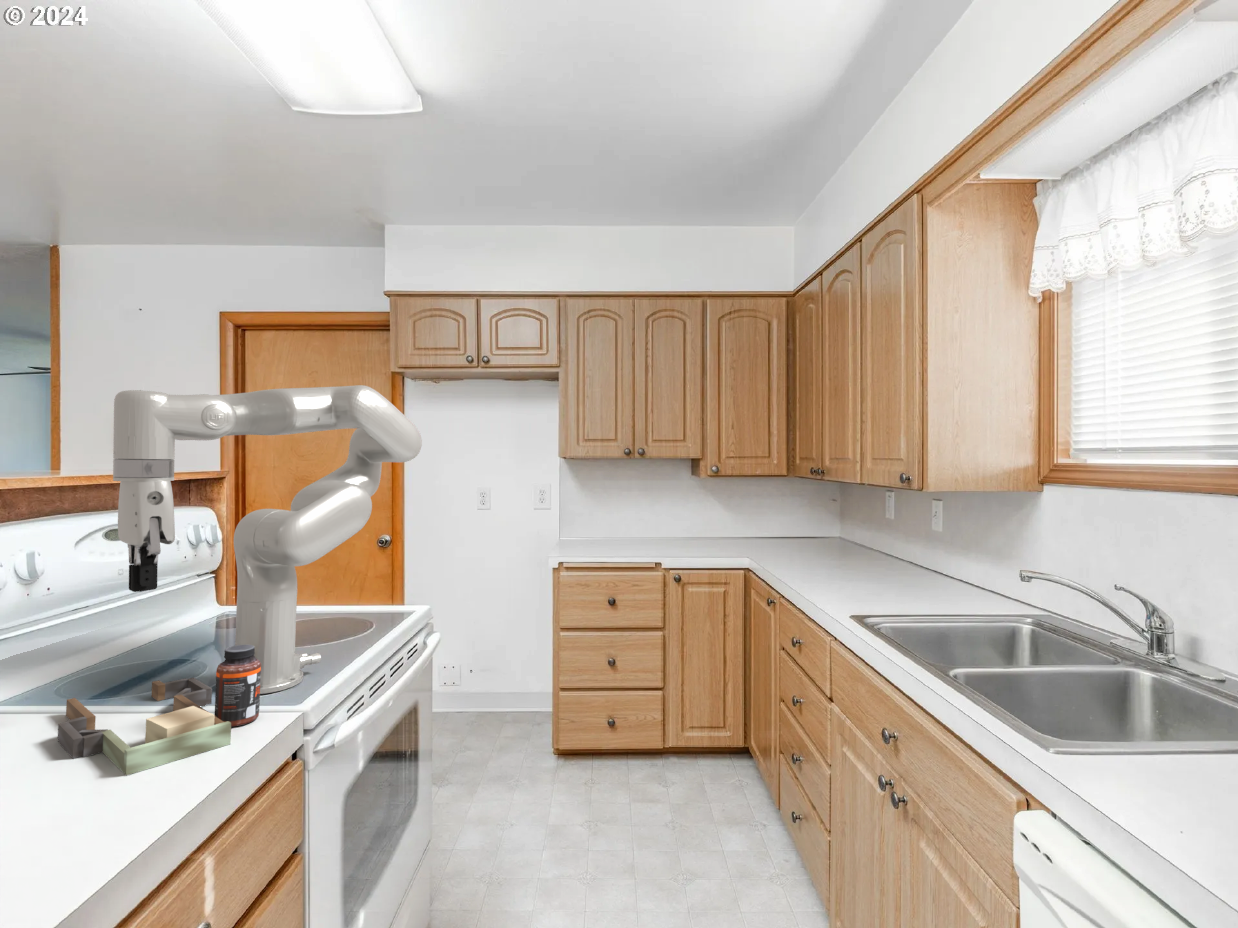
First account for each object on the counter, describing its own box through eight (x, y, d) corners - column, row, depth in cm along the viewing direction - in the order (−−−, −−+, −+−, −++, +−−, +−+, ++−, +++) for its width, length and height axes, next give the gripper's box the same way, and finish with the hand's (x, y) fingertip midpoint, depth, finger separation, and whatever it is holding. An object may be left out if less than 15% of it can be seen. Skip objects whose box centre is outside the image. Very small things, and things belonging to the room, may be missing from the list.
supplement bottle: (264, 721, 96) (266, 648, 96) (219, 732, 92) (222, 655, 92) (253, 710, 100) (255, 640, 101) (210, 719, 96) (212, 646, 96)
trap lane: (187, 688, 109) (188, 671, 109) (262, 734, 92) (262, 714, 92) (39, 721, 94) (40, 701, 94) (95, 784, 76) (97, 759, 76)
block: (192, 732, 92) (193, 705, 92) (213, 742, 89) (214, 714, 89) (144, 747, 87) (146, 718, 87) (165, 758, 84) (167, 728, 84)
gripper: (191, 472, 95) (189, 592, 95) (156, 470, 103) (154, 580, 104) (130, 472, 88) (129, 601, 89) (99, 470, 97) (97, 587, 98)
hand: (143, 589), depth 96 cm, fingers closed
